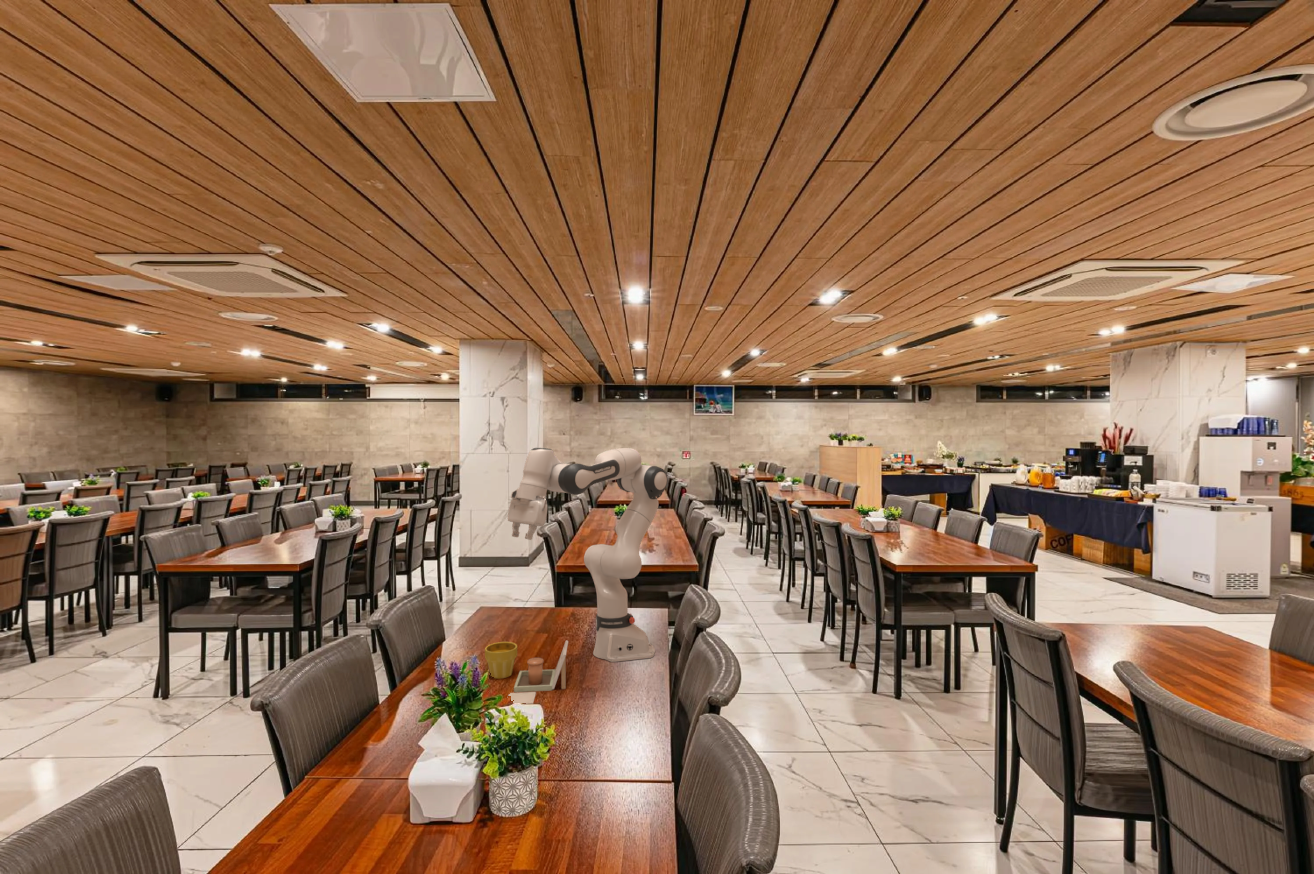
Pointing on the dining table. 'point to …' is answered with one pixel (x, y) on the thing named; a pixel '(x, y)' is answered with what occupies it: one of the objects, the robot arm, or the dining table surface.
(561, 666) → the propped lid
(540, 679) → the terracotta pot
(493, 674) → the plant pot
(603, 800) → the dining table surface
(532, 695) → the plate
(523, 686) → the shallow square tray
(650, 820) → the dining table surface
